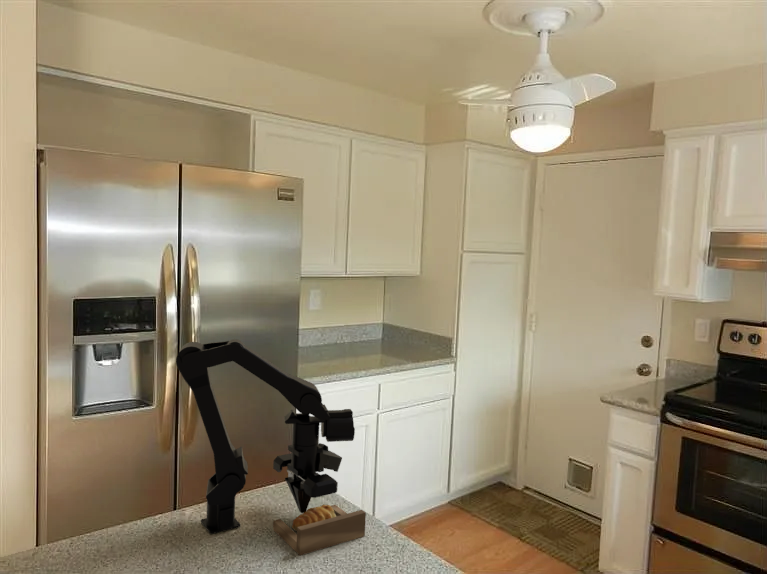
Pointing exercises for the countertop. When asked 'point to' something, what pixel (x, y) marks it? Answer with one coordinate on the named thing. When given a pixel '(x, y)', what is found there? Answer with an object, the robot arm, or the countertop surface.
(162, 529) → the countertop surface
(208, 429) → the robot arm
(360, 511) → the frame
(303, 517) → the pastry
